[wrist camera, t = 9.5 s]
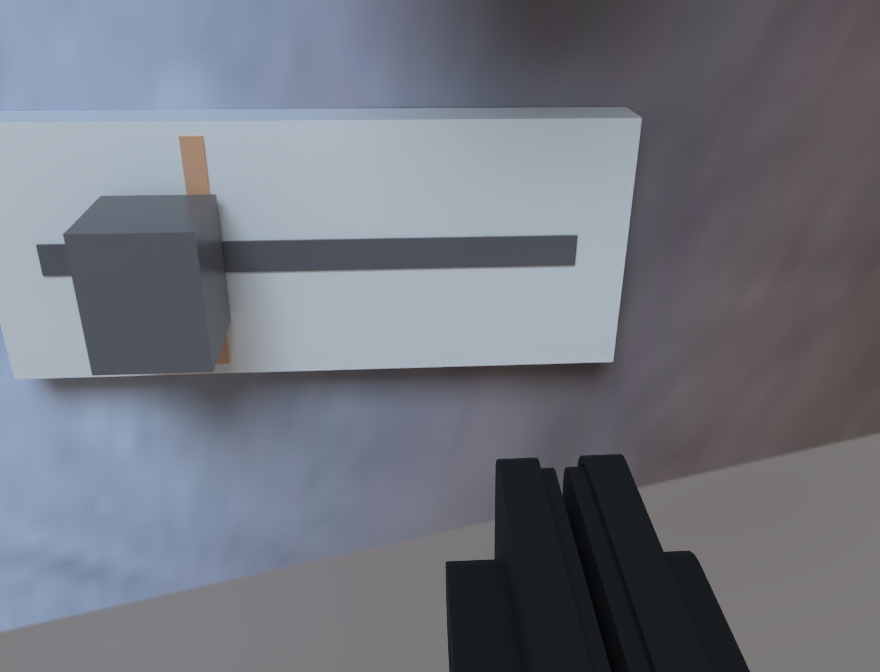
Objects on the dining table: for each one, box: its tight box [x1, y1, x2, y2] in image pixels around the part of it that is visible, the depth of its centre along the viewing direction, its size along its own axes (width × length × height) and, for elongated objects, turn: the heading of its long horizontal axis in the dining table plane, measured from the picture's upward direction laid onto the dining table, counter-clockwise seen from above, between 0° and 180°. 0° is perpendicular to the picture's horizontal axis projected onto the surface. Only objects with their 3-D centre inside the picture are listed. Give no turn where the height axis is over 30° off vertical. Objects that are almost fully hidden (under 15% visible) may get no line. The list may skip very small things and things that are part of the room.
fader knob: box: [63, 194, 231, 376], centre depth 28 cm, size 4×5×4 cm
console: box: [0, 107, 642, 379], centre depth 32 cm, size 24×10×2 cm, turn 89°
